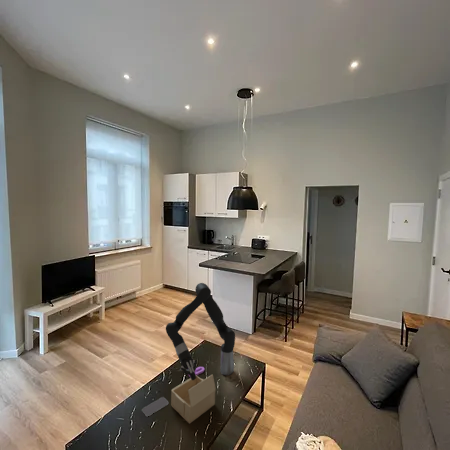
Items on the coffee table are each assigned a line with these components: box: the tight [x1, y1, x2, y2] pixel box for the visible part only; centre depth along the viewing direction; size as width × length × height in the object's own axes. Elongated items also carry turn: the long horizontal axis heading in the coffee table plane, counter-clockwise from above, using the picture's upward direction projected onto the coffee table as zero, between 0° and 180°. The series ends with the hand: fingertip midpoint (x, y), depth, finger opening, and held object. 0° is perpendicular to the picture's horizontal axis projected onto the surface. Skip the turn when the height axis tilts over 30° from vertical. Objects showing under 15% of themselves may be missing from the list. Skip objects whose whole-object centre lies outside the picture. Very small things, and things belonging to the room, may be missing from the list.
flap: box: [188, 374, 217, 407], centre depth 150 cm, size 19×9×1 cm
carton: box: [170, 375, 216, 425], centre depth 157 cm, size 21×19×10 cm
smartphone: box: [141, 396, 169, 418], centre depth 155 cm, size 7×1×15 cm
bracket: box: [188, 366, 205, 379], centre depth 187 cm, size 13×6×7 cm, turn 128°
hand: (194, 379), depth 155 cm, fingers closed
